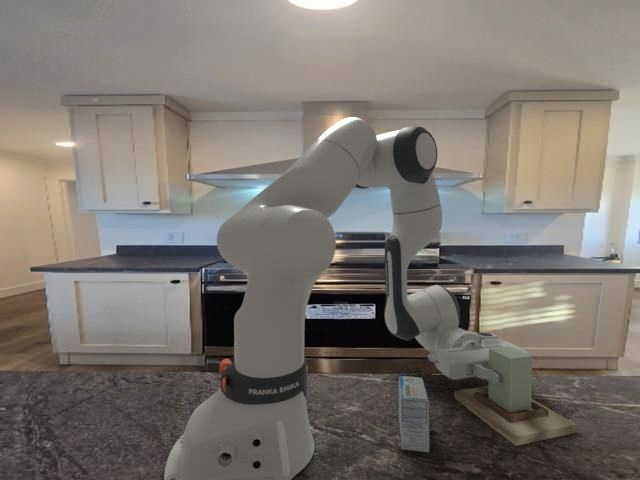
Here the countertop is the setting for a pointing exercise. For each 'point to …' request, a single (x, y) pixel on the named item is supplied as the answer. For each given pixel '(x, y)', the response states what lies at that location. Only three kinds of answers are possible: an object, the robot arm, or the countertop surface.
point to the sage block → (511, 378)
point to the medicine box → (413, 414)
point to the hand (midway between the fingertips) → (513, 377)
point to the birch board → (515, 418)
